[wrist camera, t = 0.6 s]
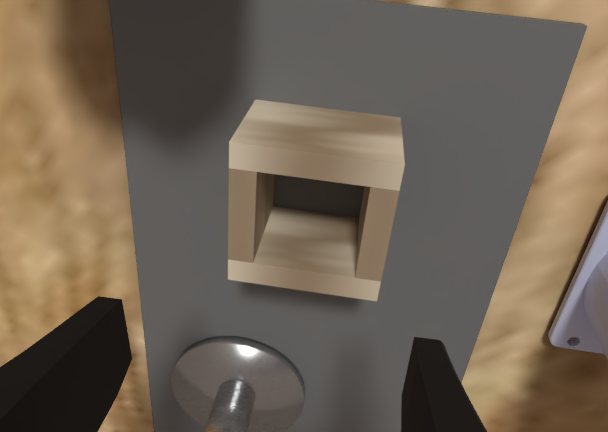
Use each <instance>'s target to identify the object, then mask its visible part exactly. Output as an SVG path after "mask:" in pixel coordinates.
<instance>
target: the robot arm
mask: <svg viewBox="0 0 608 432" xmlns="http://www.w3.org/2000/svg"><path fill="white" fill-rule="evenodd" d="M548 337H549V340H550V342H551V344H552V345H553V346H556V347H560V348H567V349H573V350H580V351H587V352H593V353H600V354H605V356H606V358H607V360H608V201H607V203H606V206H605V208H604V210H603V212H602V215H601V217H600V219H599V221H598V223H597V226H596V228H595V230H594V232H593V235H592V237H591V239H590V241H589V244H588V246H587V248H586V250H585V252H584V255H583V257H582V259H581V261H580V264H579V266H578V268H577V270H576V273H575V275H574V277H573V279H572V282H571V284H570V286H569V288H568V290H567V293H566V295H565V297H564V299H563V302H562V304H561V306H560V308H559V311H558V313H557V315H556V317H555V319H554V322H553V324H552V326H551V328H550V331H549V333H548ZM572 337H576V338H575V339H572V340H569V339H570V338H572ZM131 360H132V356H131V350H130V344H129V339H128V333H127V327H126V321H125V315H124V310H123V304H122V299H114V298H106V297H97V298H96V299H94V300H93V301H91V302H90V303H89V304H87V305H86V306H85V307H83V308H82V309H81V310H79V311H78V312H77V313H75V314H74V315H73V316H71V317H70V318H69V319H67V320H66V321H65V322H63V323H62V324H61V325H59V326H58V327H57V328H55V329H54V330H53V331H51V332H50V333H49V334H47V335H46V336H44V337H43V338H42V339H40V340H39V341H38V342H36V343H35V344H33V345H32V346H31V347H29V348H28V349H27V350H25V351H24V352H22V353H21V354H19V355H18V356H16V357H15V358H13V359H12V360H10V361H9V362H7V363H6V364H4V365H3V366H1V367H0V432H97V431H98V430H99V428H100V426H101V424H102V422H103V421H104V419H105V417H106V415H107V413H108V412H109V410H110V408H111V406H112V404H113V402H114V400H115V399H116V397H117V395H118V392H119V390H120V387H121V385H122V383H123V380H124V378H125V375H126V373H127V370H128V367H129V365H130V362H131ZM401 432H487V431H486V429H485V427H484V425H483V424H482V422H481V420H480V418H479V416H478V415H477V413H476V411H475V409H474V407H473V405H472V404H471V402H470V400H469V398H468V396H467V394H466V392H465V390H464V388H463V386H462V384H461V382H460V380H459V378H458V376H457V374H456V371H455V369H454V367H453V365H452V363H451V360H450V358H449V356H448V353H447V351H446V348H445V346H444V344H443V343H442V341H441V340H436V339H428V338H420V337H414V340H413V344H412V349H411V354H410V359H409V363H408V368H407V373H406V377H405V382H404V387H403V391H402V403H401Z"/></svg>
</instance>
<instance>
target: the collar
mask: <svg viewBox="0 0 608 432" xmlns="http://www.w3.org/2000/svg"><path fill="white" fill-rule="evenodd" d="M404 167H405V160H404V149H403V137H402V126H401V117H393V116H385V115H377V114H369V113H360V112H352V111H344V110H336V109H328V108H320V107H312V106H304V105H296V104H288V103H280V102H272V101H264V100H256V99H255V101H254V103H253V104H252V106H251V107H250V109H249V111H248V112H247V114H246V116H245V117H244V119H243V120H242V122H241V124H240V125H239V127H238V128H237V130H236V132H235V133H234V135H233V136H232V138H231V140H230V141H229V206H228V280H234V281H241V282H248V283H255V284H262V285H268V286H275V287H282V288H289V289H296V290H302V291H309V292H316V293H323V294H330V295H336V296H343V297H350V298H357V299H364V300H370V301H377V299H378V294H379V289H380V284H381V279H382V274H383V269H384V264H385V260H386V255H387V250H388V245H389V240H390V235H391V230H392V225H393V220H394V216H395V211H396V206H397V201H398V196H399V191H400V186H401V181H402V177H403V172H404ZM275 174H277V175H284V176H292V177H299V178H307V179H314V180H322V181H329V182H337V183H344V184H352V185H359V186H364V192H363V198H362V204H361V210H360V217H359V218H354V217H347V216H340V215H332V214H325V213H318V212H310V211H303V210H296V209H289V208H281V207H274V206H273V198H274V182H275Z"/></svg>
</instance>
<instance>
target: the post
mask: <svg viewBox="0 0 608 432" xmlns="http://www.w3.org/2000/svg"><path fill="white" fill-rule="evenodd" d="M171 384H172V390H173V393H174V396H175V397H176V399H177V401H178V403H179V404H180V406H181V407H182V408H183V409H184V410H185V411H186V412H187V413H188V414H189V415H190V416H191V417H192V418H194V419H195V420H197V421H198V422H200V423H201V424H203V425H205V426H206V427H205V430H204V432H281V431H283V430H285V429H287V428H288V427H290V426H291V425H292V424H293V423H294V422H295V421H296V420H297V419H298V418H299V416H300V414H301V412H302V409H303V405H304V399H305V385H304V381H303V378H302V376H301V374H300V372H299V370H298V369H297V368H296V366H295V365H294V364H293V363H292V362H291V361H290V360H289V359H288V358H287V357H286V356H285V355H284V354H282V353H281V352H279V351H278V350H276V349H275V348H273V347H271V346H269V345H267V344H265V343H262V342H260V341H257V340H253V339H250V338H245V337H240V336H214V337H210V338H205V339H203V340H200V341H198V342H196V343H194V344H192V345H190V346H189V347H188V348H186V349H185V350H184V351H183V352H182V354H181V355H180V357H179V358H178V361H177V363H176V365H175V368H174V370H173V373H172V377H171Z"/></svg>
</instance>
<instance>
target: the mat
mask: <svg viewBox="0 0 608 432" xmlns="http://www.w3.org/2000/svg"><path fill="white" fill-rule="evenodd" d="M109 3H110V13H111V22H112V32H113V42H114V51H115V61H116V70H117V80H118V89H119V99H120V109H121V118H122V128H123V137H124V147H125V157H126V166H127V176H128V185H129V195H130V204H131V214H132V224H133V233H134V243H135V252H136V262H137V271H138V281H139V291H140V300H141V310H142V319H143V329H144V338H145V348H146V358H147V367H148V377H149V386H150V396H151V405H152V415H153V425H154V432H204V430H205V427H206V426H205V425H203V424H201V423H200V422H198V421H197V420H195V419H194V418H192V417H191V416H190V415H189V414H188V413H187V412H186V411H185V410H184V409H183V408H182V407H181V406H180V404H179V403H178V401H177V399H176V397H175V396H174V393H173V390H172V384H171V377H172V373H173V370H174V368H175V365H176V363H177V361H178V358H179V357H180V355H181V354H182V352H183V351H184V350H185V349H186V348H188V347H189V346H190V345H192V344H194V343H196V342H198V341H200V340H203V339H205V338H210V337H214V336H240V337H245V338H250V339H253V340H257V341H260V342H262V343H265V344H267V345H269V346H271V347H273V348H275V349H276V350H278V351H279V352H281V353H282V354H284V355H285V356H286V357H287V358H288V359H289V360H290V361H291V362H292V363H293V364H294V365H295V366H296V368H297V369H298V370H299V372H300V374H301V376H302V378H303V381H304V385H305V399H304V405H303V409H302V412H301V414H300V416H299V418H298V419H297V420H296V421H295V422H294V423H293V424H292V425H291V426H290V427H288V428H287V429H285V430H283V431H281V432H401V403H402V391H403V387H404V382H405V377H406V373H407V368H408V363H409V359H410V354H411V349H412V344H413V340H414V337H420V338H428V339H436V340H441V341H442V343H443V344H444V346H445V348H446V351H447V353H448V356H449V358H450V360H451V363H452V365H453V367H454V369H455V371H456V374H457V376H458V378H459V380H460V382H462V380H463V377H464V374H465V371H466V368H467V365H468V363H469V360H470V357H471V354H472V351H473V348H474V345H475V343H476V340H477V337H478V334H479V331H480V328H481V326H482V323H483V320H484V317H485V314H486V311H487V309H488V306H489V303H490V300H491V297H492V294H493V292H494V289H495V286H496V283H497V280H498V277H499V275H500V272H501V269H502V266H503V263H504V260H505V258H506V255H507V252H508V249H509V246H510V243H511V241H512V238H513V235H514V232H515V229H516V226H517V224H518V221H519V218H520V215H521V212H522V209H523V207H524V204H525V201H526V198H527V195H528V192H529V190H530V187H531V184H532V181H533V178H534V175H535V173H536V170H537V167H538V164H539V161H540V158H541V156H542V153H543V150H544V147H545V144H546V141H547V139H548V136H549V133H550V130H551V127H552V124H553V122H554V119H555V116H556V113H557V110H558V107H559V105H560V102H561V99H562V96H563V93H564V90H565V88H566V85H567V82H568V79H569V76H570V73H571V71H572V68H573V65H574V62H575V59H576V56H577V54H578V51H579V48H580V45H581V42H582V39H583V37H584V34H585V31H586V28H587V26H586V25H584V24H581V23H572V22H563V21H554V20H545V19H536V18H527V17H518V16H509V15H500V14H491V13H482V12H473V11H464V10H455V9H446V8H437V7H428V6H419V5H410V4H401V3H392V2H383V1H374V0H109ZM255 99H256V100H264V101H272V102H280V103H288V104H296V105H304V106H312V107H320V108H328V109H336V110H344V111H352V112H360V113H369V114H377V115H385V116H393V117H401V126H402V137H403V149H404V160H405V167H404V172H403V177H402V181H401V186H400V191H399V196H398V201H397V206H396V211H395V216H394V220H393V225H392V230H391V235H390V240H389V245H388V250H387V255H386V260H385V264H384V269H383V274H382V279H381V284H380V289H379V294H378V299H377V301H370V300H364V299H357V298H350V297H343V296H336V295H330V294H323V293H316V292H309V291H302V290H296V289H289V288H282V287H275V286H268V285H262V284H255V283H248V282H241V281H234V280H228V206H229V141H230V140H231V138H232V136H233V135H234V133H235V132H236V130H237V128H238V127H239V125H240V124H241V122H242V120H243V119H244V117H245V116H246V114H247V112H248V111H249V109H250V107H251V106H252V104H253V103H254V101H255ZM363 192H364V186H359V185H352V184H344V183H337V182H329V181H322V180H314V179H307V178H299V177H292V176H284V175H277V174H275V182H274V198H273V206H274V207H281V208H289V209H296V210H303V211H310V212H318V213H325V214H332V215H340V216H347V217H354V218H359V217H360V210H361V204H362V198H363Z"/></svg>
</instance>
